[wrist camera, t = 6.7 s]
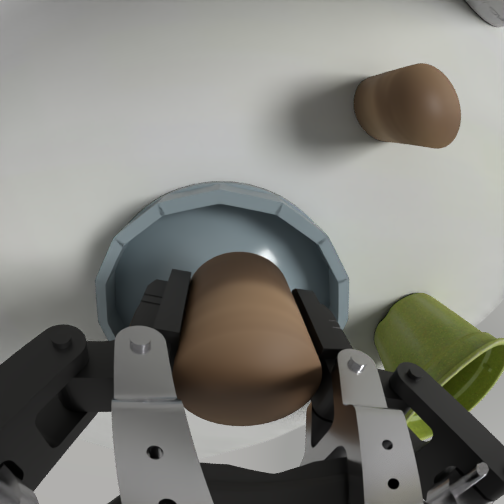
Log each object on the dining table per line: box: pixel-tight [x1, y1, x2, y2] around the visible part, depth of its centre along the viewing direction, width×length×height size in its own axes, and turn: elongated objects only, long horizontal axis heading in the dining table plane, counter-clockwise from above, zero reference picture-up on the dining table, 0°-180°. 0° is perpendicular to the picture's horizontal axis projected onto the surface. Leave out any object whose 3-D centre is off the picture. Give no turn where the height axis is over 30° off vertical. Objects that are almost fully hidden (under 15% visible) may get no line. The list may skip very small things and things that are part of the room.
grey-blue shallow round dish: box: [95, 181, 349, 341], centre depth 16 cm, size 14×14×3 cm
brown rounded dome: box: [172, 252, 322, 426], centre depth 9 cm, size 4×4×4 cm
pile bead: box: [354, 63, 461, 148], centre depth 11 cm, size 4×4×4 cm
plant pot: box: [374, 293, 504, 440], centre depth 16 cm, size 9×9×9 cm
